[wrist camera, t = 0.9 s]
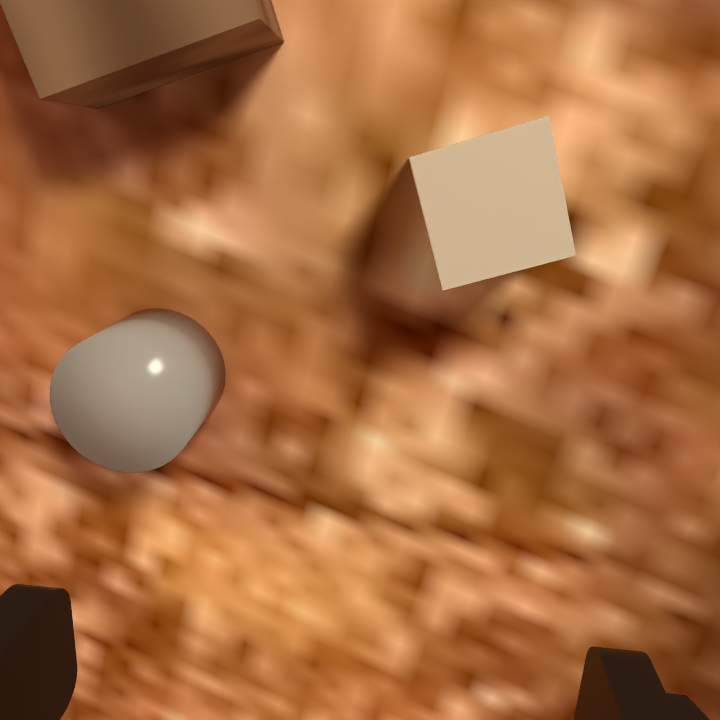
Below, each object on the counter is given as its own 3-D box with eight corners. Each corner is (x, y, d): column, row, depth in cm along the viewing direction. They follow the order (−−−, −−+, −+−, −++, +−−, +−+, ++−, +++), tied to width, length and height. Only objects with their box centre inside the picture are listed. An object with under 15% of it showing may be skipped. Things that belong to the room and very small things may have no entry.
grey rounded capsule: (200, 293, 31) (163, 317, 26) (242, 412, 33) (215, 454, 28) (82, 326, 32) (25, 355, 27) (129, 440, 34) (84, 486, 29)
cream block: (519, 125, 28) (549, 115, 22) (542, 236, 29) (575, 255, 23) (408, 158, 29) (409, 157, 23) (435, 266, 30) (442, 290, 24)
